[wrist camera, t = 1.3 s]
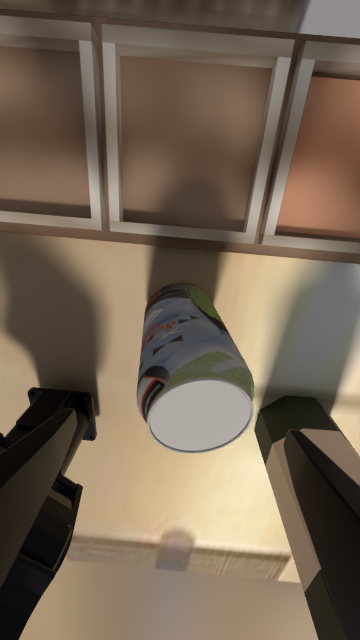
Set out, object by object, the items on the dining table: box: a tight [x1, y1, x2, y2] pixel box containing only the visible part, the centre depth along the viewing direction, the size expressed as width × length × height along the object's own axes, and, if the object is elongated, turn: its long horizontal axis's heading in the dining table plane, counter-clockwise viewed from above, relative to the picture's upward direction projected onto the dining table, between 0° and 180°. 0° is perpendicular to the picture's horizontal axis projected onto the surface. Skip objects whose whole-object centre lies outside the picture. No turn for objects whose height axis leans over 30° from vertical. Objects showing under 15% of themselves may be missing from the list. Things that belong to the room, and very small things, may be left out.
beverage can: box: [137, 283, 254, 453], centre depth 15 cm, size 6×7×12 cm
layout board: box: [0, 9, 360, 264], centre depth 15 cm, size 12×33×2 cm, turn 85°
